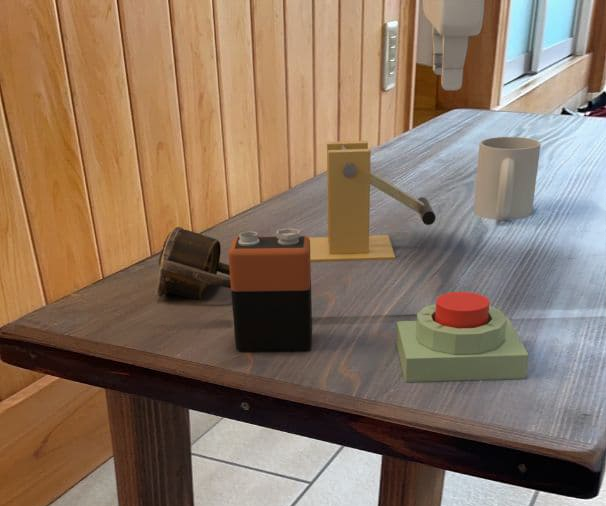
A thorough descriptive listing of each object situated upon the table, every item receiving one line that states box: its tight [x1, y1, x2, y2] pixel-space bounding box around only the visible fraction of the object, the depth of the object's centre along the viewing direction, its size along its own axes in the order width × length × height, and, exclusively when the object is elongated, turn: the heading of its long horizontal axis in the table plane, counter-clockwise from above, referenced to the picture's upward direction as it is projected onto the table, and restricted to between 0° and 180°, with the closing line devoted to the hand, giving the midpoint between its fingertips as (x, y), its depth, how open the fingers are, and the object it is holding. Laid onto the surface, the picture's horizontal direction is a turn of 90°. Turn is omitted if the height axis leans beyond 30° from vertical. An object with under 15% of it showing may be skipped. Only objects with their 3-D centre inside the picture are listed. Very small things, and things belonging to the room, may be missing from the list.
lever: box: [340, 145, 436, 226], centre depth 93 cm, size 12×6×2 cm
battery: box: [228, 227, 313, 353], centre depth 75 cm, size 4×7×10 cm, turn 88°
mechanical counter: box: [154, 226, 231, 301], centre depth 85 cm, size 7×13×10 cm
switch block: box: [395, 303, 530, 383], centre depth 73 cm, size 10×8×4 cm
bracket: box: [308, 140, 396, 263], centre depth 94 cm, size 10×8×12 cm
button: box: [435, 291, 491, 329], centre depth 71 cm, size 4×4×2 cm
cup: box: [473, 136, 542, 221], centre depth 104 cm, size 7×10×9 cm
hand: (446, 81), depth 82 cm, fingers open, 8 cm apart
